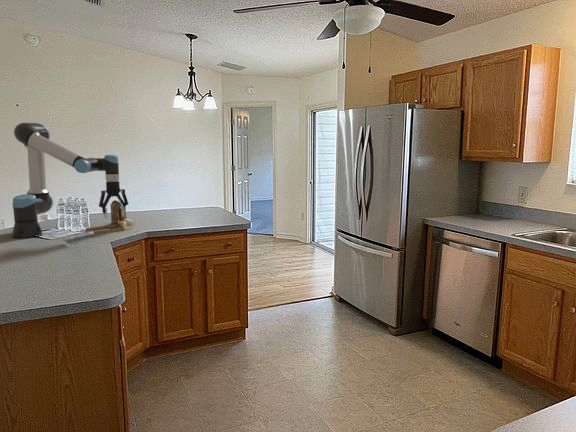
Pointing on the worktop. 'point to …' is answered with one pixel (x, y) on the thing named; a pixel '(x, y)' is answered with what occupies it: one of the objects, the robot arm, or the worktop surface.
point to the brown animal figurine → (119, 211)
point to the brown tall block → (114, 217)
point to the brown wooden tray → (106, 230)
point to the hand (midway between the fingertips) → (114, 217)
